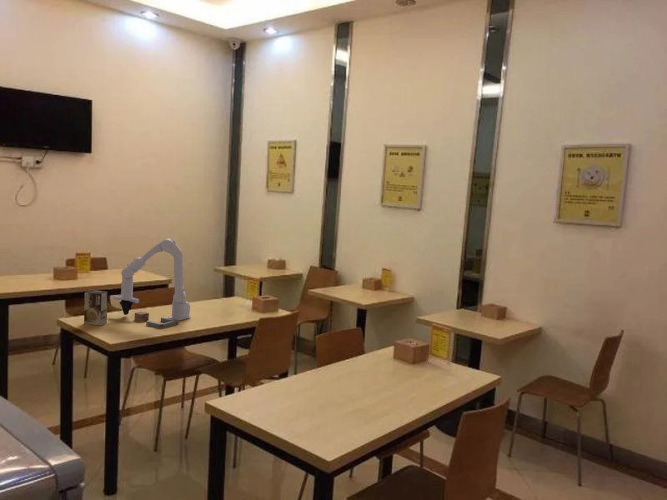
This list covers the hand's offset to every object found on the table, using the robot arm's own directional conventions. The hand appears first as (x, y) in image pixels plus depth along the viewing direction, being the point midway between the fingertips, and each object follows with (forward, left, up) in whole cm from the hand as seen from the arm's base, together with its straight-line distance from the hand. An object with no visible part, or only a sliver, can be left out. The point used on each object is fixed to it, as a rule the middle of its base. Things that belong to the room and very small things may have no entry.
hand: (125, 314), depth 291 cm
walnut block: (0, +11, -1) cm, 11 cm away
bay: (0, +25, -1) cm, 25 cm away
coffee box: (+20, 0, -1) cm, 20 cm away
